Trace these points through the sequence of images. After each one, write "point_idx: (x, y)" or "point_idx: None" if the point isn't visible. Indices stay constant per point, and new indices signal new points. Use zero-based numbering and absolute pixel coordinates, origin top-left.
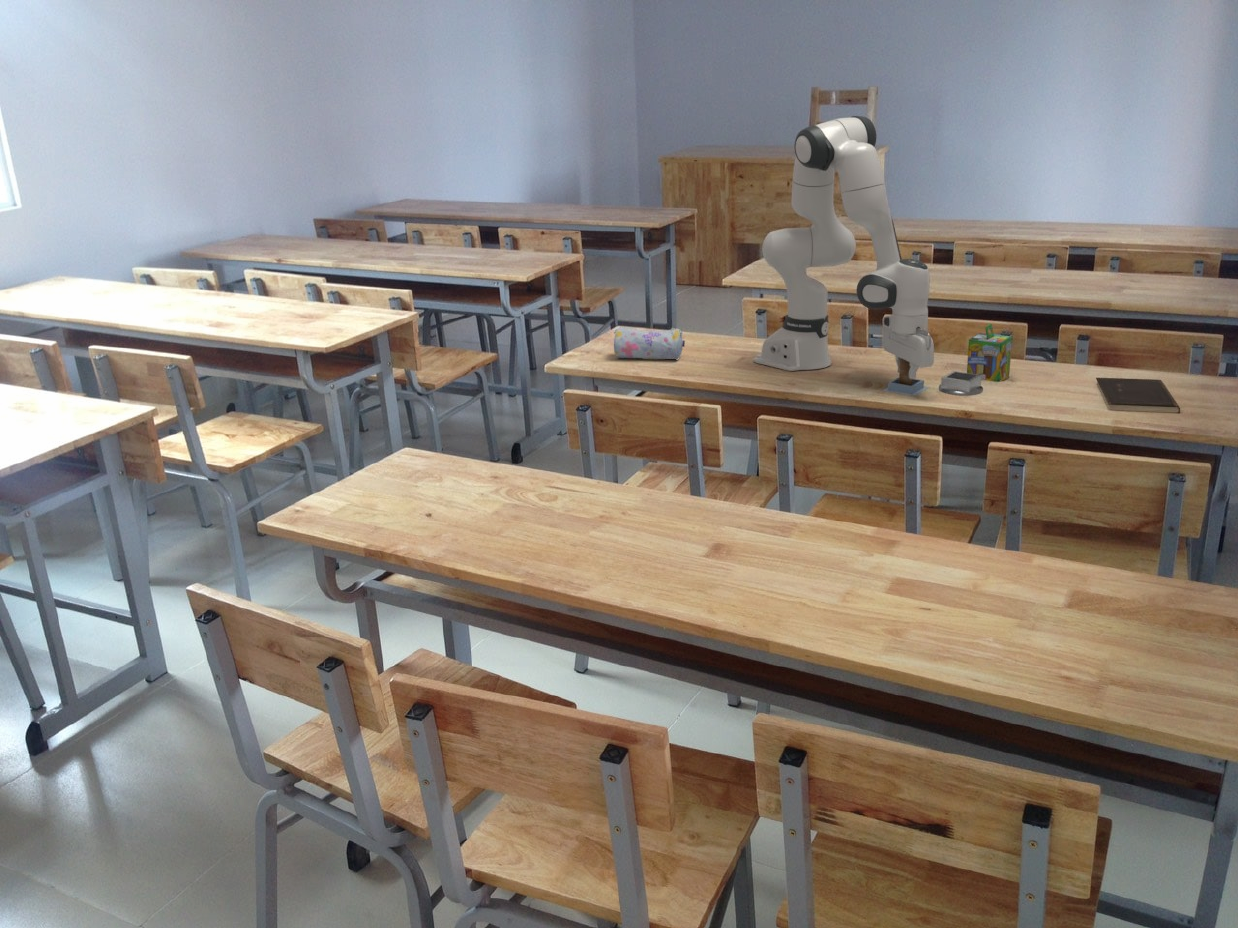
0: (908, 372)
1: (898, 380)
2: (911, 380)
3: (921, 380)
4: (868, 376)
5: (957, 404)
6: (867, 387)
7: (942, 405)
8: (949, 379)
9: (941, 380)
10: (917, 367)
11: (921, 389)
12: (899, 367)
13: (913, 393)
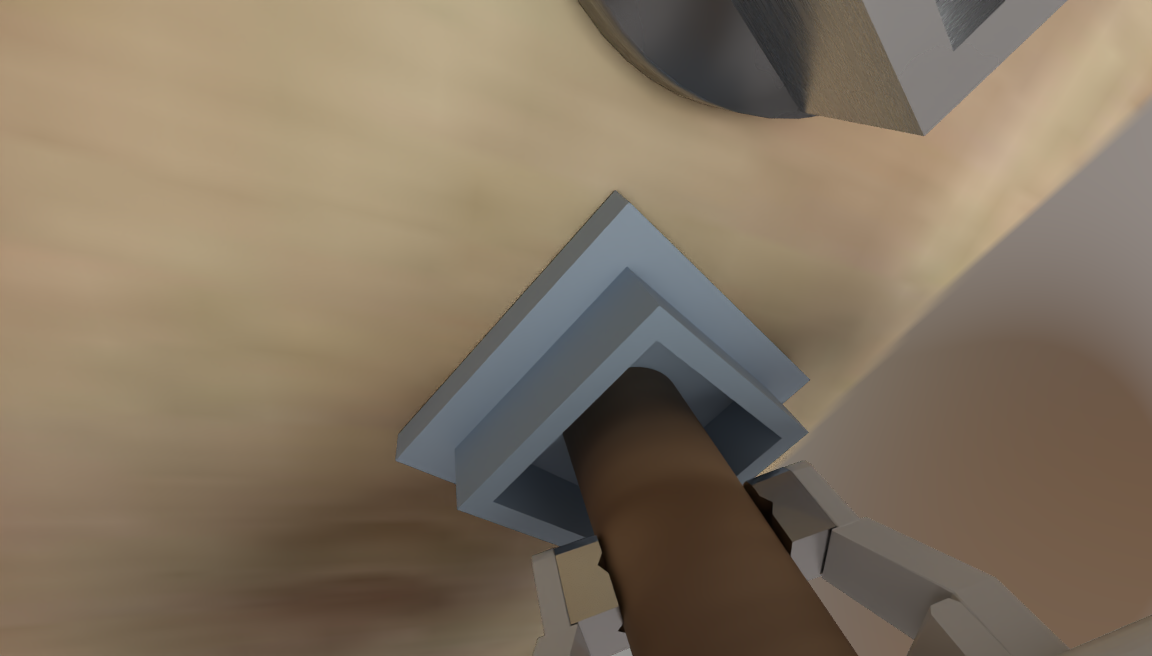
0: (806, 569)
1: (534, 503)
2: (720, 453)
3: (658, 334)
4: (64, 613)
5: (1070, 46)
6: (435, 591)
7: (1001, 194)
8: (1038, 18)
9: (886, 127)
10: (963, 578)
11: (680, 299)
12: (609, 653)
13: (759, 379)
